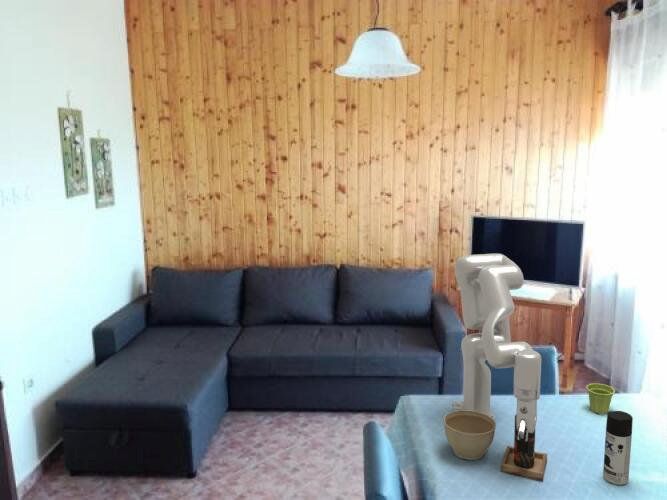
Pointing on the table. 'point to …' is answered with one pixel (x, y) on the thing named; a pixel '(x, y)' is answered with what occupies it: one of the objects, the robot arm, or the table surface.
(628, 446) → the spray can
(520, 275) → the robot arm
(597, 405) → the plant pot
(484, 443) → the planter bowl
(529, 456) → the deodorant
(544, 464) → the tray
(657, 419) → the table surface
